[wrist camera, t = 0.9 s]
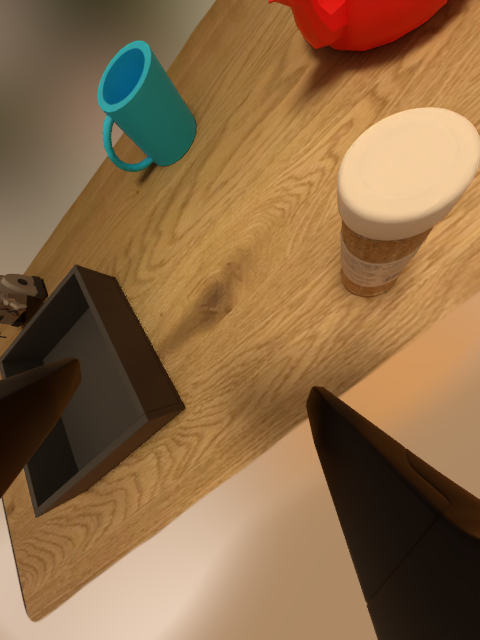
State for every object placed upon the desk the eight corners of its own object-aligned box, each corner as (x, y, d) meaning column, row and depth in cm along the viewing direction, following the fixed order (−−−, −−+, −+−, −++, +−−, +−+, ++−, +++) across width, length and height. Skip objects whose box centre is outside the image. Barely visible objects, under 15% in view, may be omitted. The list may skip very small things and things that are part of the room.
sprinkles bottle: (379, 239, 21) (434, 74, 8) (409, 281, 19) (525, 160, 7) (330, 265, 22) (316, 158, 10) (355, 307, 21) (374, 243, 9)
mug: (173, 103, 34) (126, 33, 26) (207, 123, 31) (164, 50, 23) (127, 173, 36) (71, 127, 29) (153, 198, 33) (98, 153, 25)
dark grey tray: (185, 407, 26) (148, 421, 21) (85, 491, 31) (35, 518, 26) (115, 277, 34) (75, 264, 29) (43, 359, 38) (-3, 360, 33)
